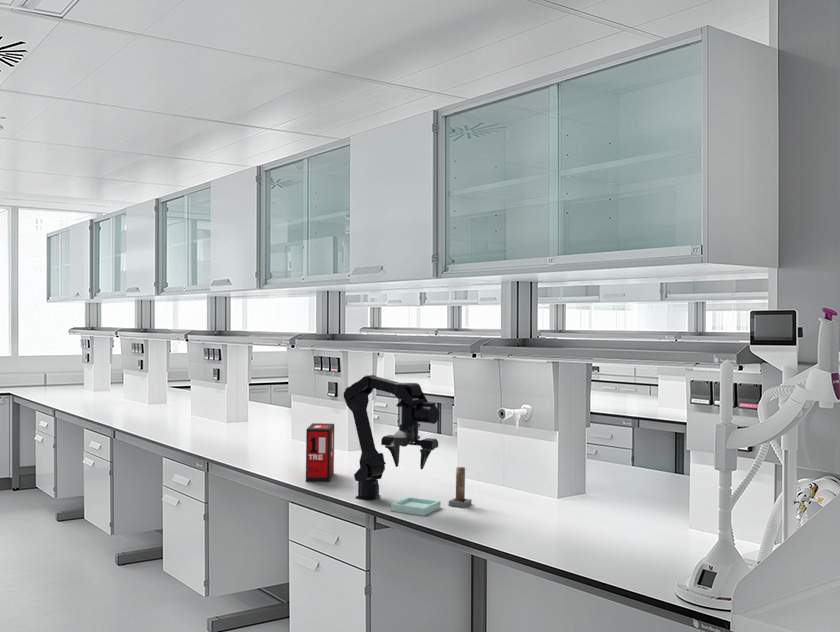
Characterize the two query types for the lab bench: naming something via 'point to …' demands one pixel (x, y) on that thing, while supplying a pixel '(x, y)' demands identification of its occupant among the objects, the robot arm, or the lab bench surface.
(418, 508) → the tray
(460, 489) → the pin
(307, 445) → the cleaning product box
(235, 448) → the lab bench surface
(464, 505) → the tray
